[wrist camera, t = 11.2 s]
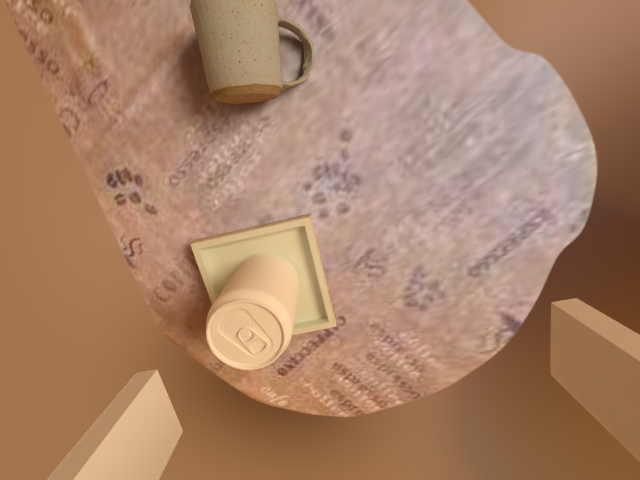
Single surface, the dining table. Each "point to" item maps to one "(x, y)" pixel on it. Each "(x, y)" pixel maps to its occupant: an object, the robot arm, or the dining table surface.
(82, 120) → the dining table surface
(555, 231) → the dining table surface
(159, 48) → the dining table surface
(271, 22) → the ceramic mug
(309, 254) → the holder tray
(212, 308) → the beverage can
